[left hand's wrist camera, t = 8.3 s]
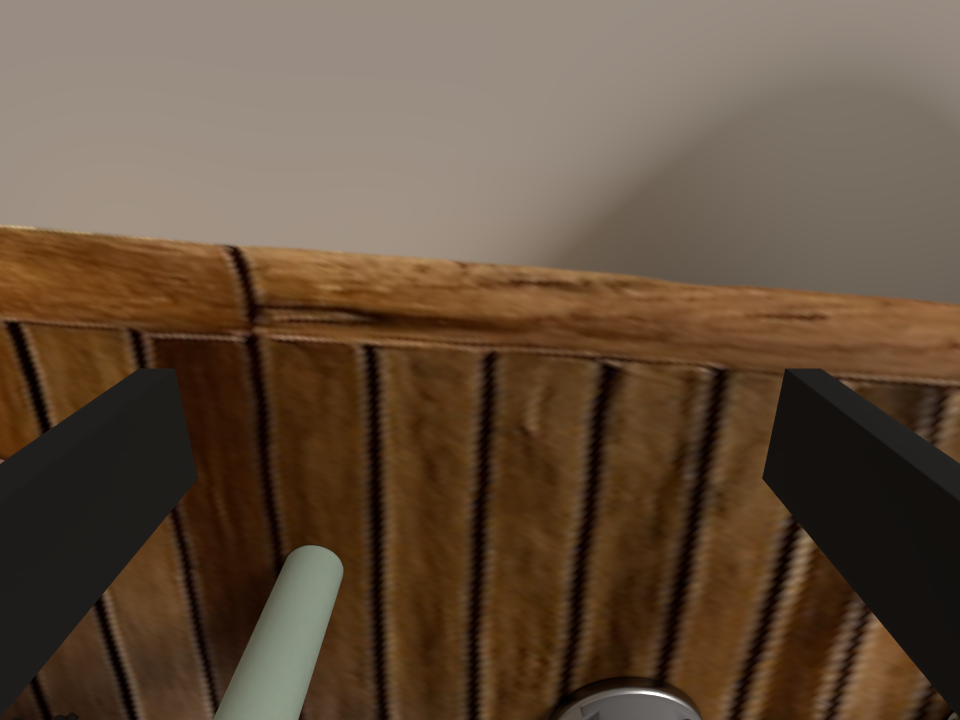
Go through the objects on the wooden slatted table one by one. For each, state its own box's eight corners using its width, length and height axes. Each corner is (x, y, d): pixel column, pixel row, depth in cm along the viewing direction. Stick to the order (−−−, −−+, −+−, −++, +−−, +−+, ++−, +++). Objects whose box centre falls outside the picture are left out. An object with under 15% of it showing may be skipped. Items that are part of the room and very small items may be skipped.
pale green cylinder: (283, 586, 50) (169, 849, 31) (286, 541, 48) (168, 791, 30) (340, 594, 50) (260, 859, 32) (346, 549, 48) (264, 802, 30)
